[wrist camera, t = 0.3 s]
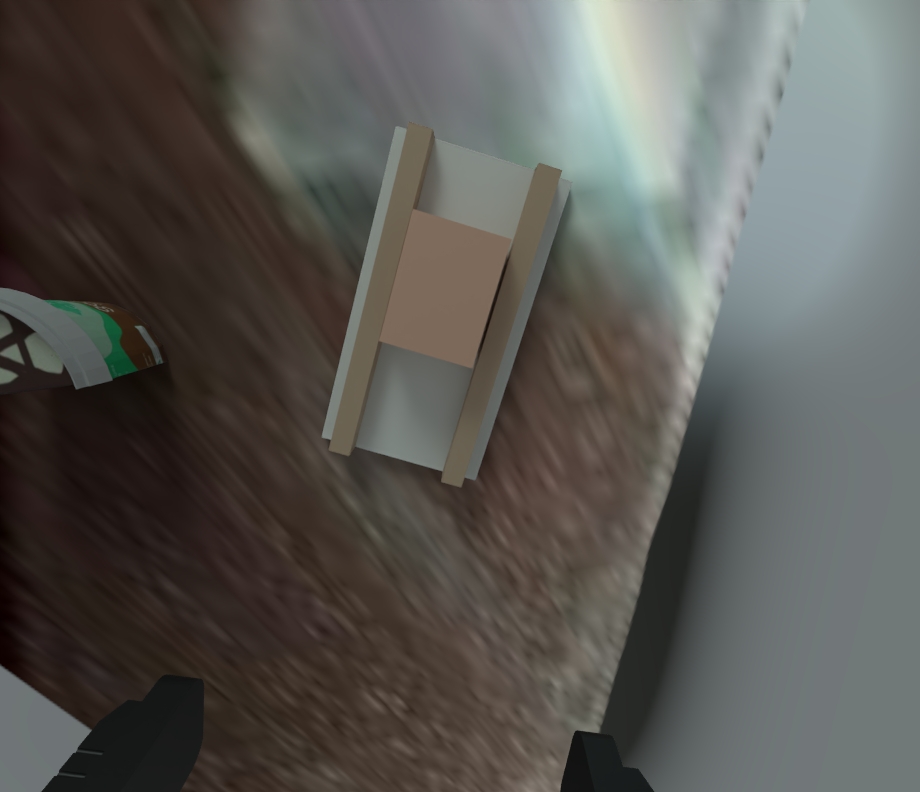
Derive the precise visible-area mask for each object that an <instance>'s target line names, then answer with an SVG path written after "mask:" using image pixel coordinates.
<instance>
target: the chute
mask: <svg viewBox="0 0 920 792" xmlns="http://www.w3.org/2000/svg"><path fill="white" fill-rule="evenodd" d="M561 172H562V170H560V169H557V168H553V167H550V166H547V165H544V164H541V163H539V164H538V165H537V167H536V169H535V170H534V169H530V168H527V167H524V166H521V165H518V164H515V163H512V162H508V161H505V160H502V159H499V158H496V157H493V156H489V155H486V154H483V153H480V152H477V151H474V150H471V149H467V148H464V147H461V146H458V145H455V144H452V143H449V142H445V141H442V140H439V139H436V138H435V137H434V132H433V129H431V128H428V127H425V126H421V125H418V124H415V123H412V122H409V123H408V127H407V129H404V128H401V127H398V126H396V128H395V133H394V137H393V141H392V145H391V149H390V153H389V158H388V162H387V166H386V170H385V174H384V178H383V183H382V187H381V191H380V195H379V199H378V204H377V208H376V212H375V216H374V220H373V224H372V229H371V233H370V237H369V241H368V245H367V249H366V254H365V258H364V262H363V266H362V270H361V275H360V279H359V283H358V287H357V291H356V295H355V300H354V304H353V308H352V312H351V316H350V321H349V325H348V329H347V333H346V337H345V341H344V346H343V350H342V354H341V358H340V362H339V366H338V371H337V375H336V379H335V383H334V387H333V392H332V396H331V400H330V404H329V408H328V412H327V417H326V421H325V425H324V429H323V433H322V437H323V438H326V439H330V440H331V442H330V446H329V451H333V452H336V453H340V454H343V455H347V456H349V455H350V454H351V452H352V451H353V449H354V448H355V447H358V448H362V449H365V450H369V451H372V452H376V453H379V454H383V455H387V456H390V457H394V458H397V459H401V460H404V461H408V462H411V463H415V464H418V465H422V466H426V467H429V468H433V469H436V470H440V471H443V472H442V479H441V482H443V483H447V484H450V485H454V486H458V487H462V483H463V480H464V477H465V478H468V479H472V480H476V477H477V474H478V471H479V468H480V465H481V462H482V459H483V456H484V453H485V450H486V446H487V443H488V440H489V437H490V434H491V431H492V428H493V425H494V422H495V419H496V416H497V413H498V409H499V406H500V403H501V400H502V397H503V394H504V391H505V388H506V385H507V382H508V379H509V376H510V372H511V369H512V366H513V363H514V360H515V357H516V354H517V351H518V348H519V345H520V342H521V339H522V336H523V332H524V329H525V326H526V323H527V320H528V317H529V314H530V311H531V308H532V305H533V302H534V299H535V295H536V292H537V289H538V286H539V283H540V280H541V277H542V274H543V271H544V268H545V265H546V262H547V258H548V255H549V252H550V249H551V246H552V243H553V240H554V237H555V234H556V231H557V228H558V225H559V221H560V218H561V215H562V212H563V209H564V206H565V203H566V200H567V197H568V194H569V191H570V188H571V184H572V182H571V181H568V180H565V179H562V178H560V175H561ZM413 209H415V210H419V211H422V212H425V213H428V214H431V215H435V216H438V217H441V218H444V219H448V220H451V221H454V222H457V223H461V224H464V225H467V226H470V227H474V228H477V229H480V230H483V231H487V232H490V233H493V234H496V235H500V236H503V237H506V238H509V239H512V240H511V243H510V247H509V250H508V253H507V256H506V260H505V263H504V266H503V269H502V273H501V276H500V279H499V283H498V286H497V289H496V292H495V296H494V299H493V302H492V306H491V309H490V312H489V315H488V319H487V322H486V325H485V328H484V332H483V335H482V338H481V342H480V345H479V348H478V351H477V355H476V358H475V361H474V365H473V368H469V367H465V366H462V365H459V364H455V363H452V362H448V361H445V360H442V359H438V358H435V357H431V356H428V355H425V354H421V353H418V352H414V351H411V350H408V349H404V348H401V347H397V346H394V345H391V344H387V343H384V342H380V341H379V339H380V335H381V331H382V327H383V323H384V319H385V315H386V311H387V308H388V304H389V300H390V296H391V292H392V288H393V284H394V280H395V276H396V272H397V268H398V265H399V261H400V257H401V253H402V249H403V245H404V241H405V237H406V233H407V229H408V225H409V222H410V218H411V214H412V210H413Z"/></svg>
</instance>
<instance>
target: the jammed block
mask: <svg viewBox="0 0 920 792" xmlns="http://www.w3.org/2000/svg"><path fill="white" fill-rule="evenodd" d="M511 240H512V239H509V238H506V237H503V236H500V235H496V234H493V233H490V232H487V231H483V230H480V229H477V228H474V227H470V226H467V225H464V224H461V223H457V222H454V221H451V220H448V219H444V218H441V217H438V216H435V215H431V214H428V213H425V212H422V211H419V210H415V209H413V210H412V214H411V218H410V222H409V225H408V229H407V233H406V237H405V241H404V245H403V249H402V253H401V257H400V261H399V265H398V268H397V272H396V276H395V280H394V284H393V288H392V292H391V296H390V300H389V304H388V308H387V311H386V315H385V319H384V323H383V327H382V331H381V335H380V339H379V341H380V342H384V343H387V344H391V345H394V346H397V347H401V348H404V349H408V350H411V351H414V352H418V353H421V354H425V355H428V356H431V357H435V358H438V359H442V360H445V361H448V362H452V363H455V364H459V365H462V366H465V367H469V368H473V365H474V361H475V358H476V355H477V351H478V348H479V345H480V342H481V338H482V335H483V332H484V328H485V325H486V322H487V319H488V315H489V312H490V309H491V306H492V302H493V299H494V296H495V292H496V289H497V286H498V283H499V279H500V276H501V273H502V269H503V266H504V263H505V260H506V256H507V253H508V250H509V247H510V243H511Z"/></svg>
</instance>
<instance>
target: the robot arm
mask: <svg viewBox="0 0 920 792" xmlns="http://www.w3.org/2000/svg"><path fill="white" fill-rule="evenodd" d="M203 715H204V683H203V680H202V679H198V678H190V677H183V676H175V675H167V674H166V675H164V676H162V677H161V678H160V679H159V680H158V681H157V683H156V684H155V685H154V687H153V688H152V689H151V691H150V692H149V693H148V695H147V696H146V697H145V698H144V700H143V701H142V702H141V701H134V700H127V701H126V702H125V703H123V704H122V705H121V706H119V707H118V708H117V709H115V710H114V711H113V712H111V713H110V714H109V715H107V716H106V717H104V718H103V719H102V720H100V721H99V723H98V724H97V725H96V726H95V727H94V729H93V730H92V731H91V732H90V734H89V735H88V736H87V737H86V738H85V740H84V741H83V742H82V743H81V745H80V746H79V747H78V750H77V752H76V753H73V754H72V755H71V757H70V758H69V759H68V760H67V762H66V763H65V764H64V765H63V766H62V768H61V769H60V770H59V773H58V775H57V776H54V777H53V778H52V780H51V781H50V782H49V783H48V785H47V786H46V787H45V788H44V789H43V791H42V792H180V790H181V789H182V787H183V785H184V783H185V782H186V780H187V778H188V776H189V774H190V773H191V771H192V769H193V767H194V764H195V762H196V760H197V757H198V754H199V751H200V748H201V744H202V739H203ZM560 792H654V791H653V789H652V788H651V787H650V785H649V784H648V782H647V781H646V779H645V778H644V777H643V775H642V774H641V772H640V771H639V769H636V768H628V767H623V765H622V762H621V758H620V755H619V752H618V749H617V746H616V743H615V740H614V738H613V737H612V736H611V735H607V734H600V733H592V732H585V731H575V733H574V735H573V739H572V743H571V747H570V751H569V755H568V759H567V763H566V767H565V771H564V775H563V779H562V783H561V791H560Z"/></svg>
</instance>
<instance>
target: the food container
mask: <svg viewBox="0 0 920 792" xmlns="http://www.w3.org/2000/svg"><path fill="white" fill-rule="evenodd" d="M164 362H168V359H167V356H166V353H165V350H164V348H163V345H162V344H161V343H160V341H159V340H158V338H157V337H156V335H155V334H154V332H153V331H152V329H151V328H150V327H149V326H148V325H147V324H145V323H144V322H143V321H142V320H141V319H140V318H138V317H137V316H136V315H135V314H134V313H132V312H130V311H127V310H125V309H123V308H121V307H119V306H117V305H114V304H108V303H102V302H85V301H54V300H41V299H39V298H36V297H34V296H32V295H29V294H27V293H23V292H19V291H16V290H12V289H6V288H0V395H4V394H11V393H19V392H27V391H35V390H42V389H50V388H58V387H65V386H72V385H74V386H75V388H76V389H79V388H83V387H87V386H92V385H96V384H100V383H104V382H108V381H112V378H116V377H119V376H122V375H125V374H129V373H132V372H135V371H138V370H142V369H145V368H148V367H151V366H155V365H158V364H161V363H164Z"/></svg>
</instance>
